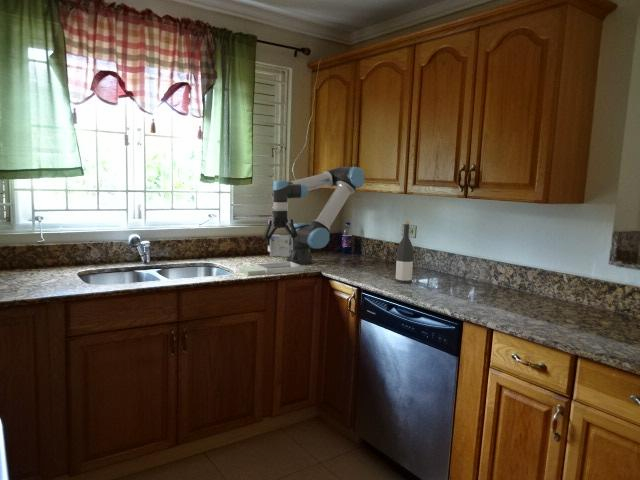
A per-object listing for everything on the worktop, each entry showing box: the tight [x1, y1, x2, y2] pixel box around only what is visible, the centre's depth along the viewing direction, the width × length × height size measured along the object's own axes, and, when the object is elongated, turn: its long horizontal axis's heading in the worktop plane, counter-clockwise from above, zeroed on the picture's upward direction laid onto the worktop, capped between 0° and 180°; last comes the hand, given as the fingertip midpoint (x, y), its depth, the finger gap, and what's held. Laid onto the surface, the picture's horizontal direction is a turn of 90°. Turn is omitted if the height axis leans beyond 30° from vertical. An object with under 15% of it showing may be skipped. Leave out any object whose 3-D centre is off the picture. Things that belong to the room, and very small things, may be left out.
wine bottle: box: [395, 220, 414, 285], centre depth 240 cm, size 8×8×30 cm
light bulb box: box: [269, 234, 291, 257], centre depth 261 cm, size 11×7×11 cm, turn 84°
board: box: [238, 265, 265, 276], centre depth 252 cm, size 9×12×2 cm
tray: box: [253, 261, 305, 275], centre depth 262 cm, size 22×16×2 cm
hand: (280, 250), depth 261 cm, fingers closed on light bulb box, 12 cm apart
